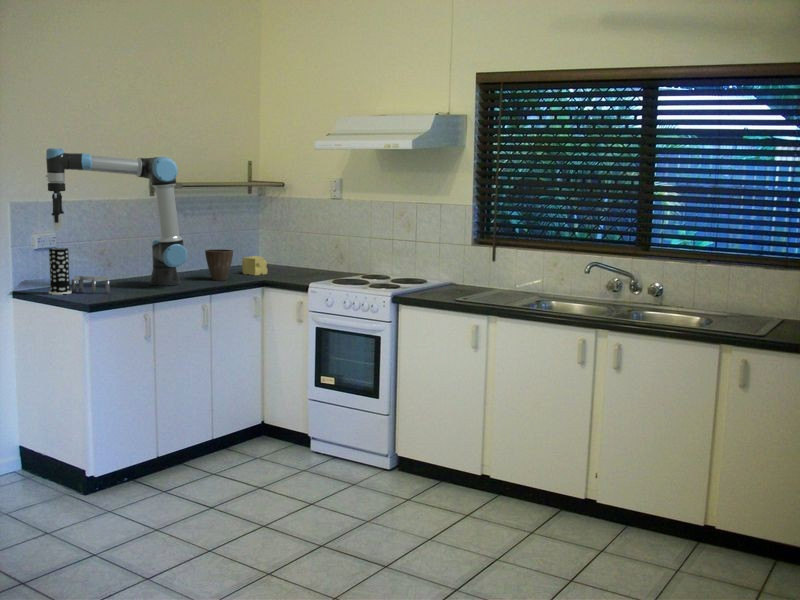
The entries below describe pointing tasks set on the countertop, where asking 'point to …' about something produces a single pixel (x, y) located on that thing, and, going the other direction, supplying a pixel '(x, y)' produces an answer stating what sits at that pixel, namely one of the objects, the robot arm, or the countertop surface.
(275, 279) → the countertop surface
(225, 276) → the plant pot
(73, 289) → the small grey table
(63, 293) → the coaster
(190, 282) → the countertop surface
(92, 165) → the robot arm
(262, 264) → the cheese
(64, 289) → the spotted tube
